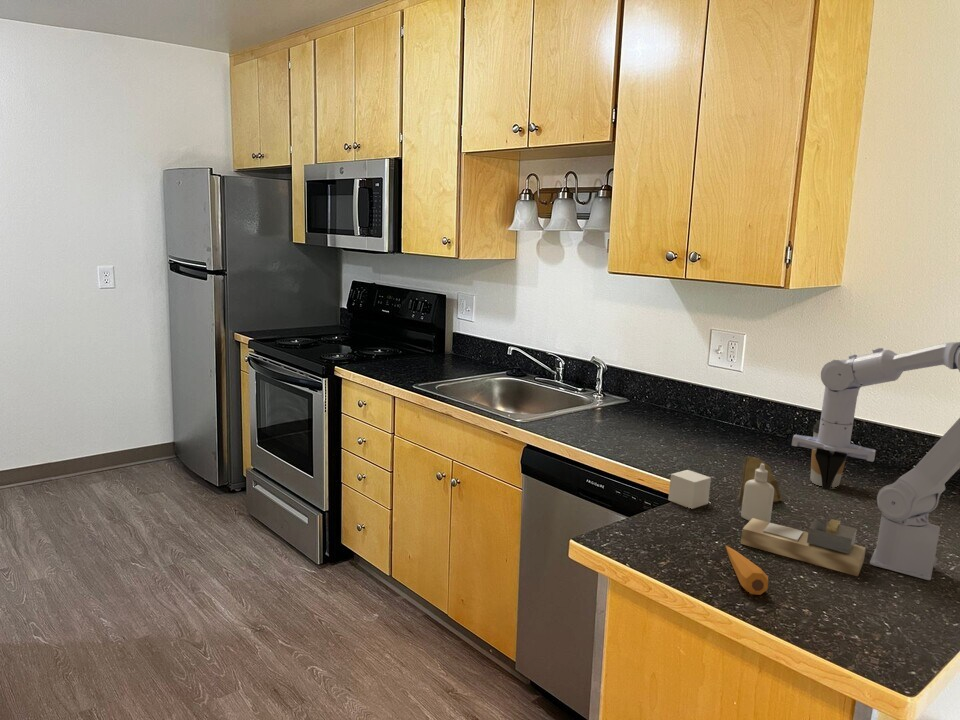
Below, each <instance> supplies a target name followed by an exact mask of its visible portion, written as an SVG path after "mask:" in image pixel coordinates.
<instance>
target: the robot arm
mask: <svg viewBox="0 0 960 720" xmlns="http://www.w3.org/2000/svg"><path fill="white" fill-rule="evenodd" d="M871 351H872V352H870V353H868V354H862V355H857V354H852V355H848V359H832V360H831V361H828V362H826V363H825V364H824V365H823V366H822V368H821V370H820V379H821V382H822V384H823V386H824V392H823V400H822V408H821V412H820V413H821V414H820V419H819V420H820V426H819V433H818V437H813V436H809V435H808V436H807V435H801V434H794V435H793V436H792V441H791V446H793V447H803V448H806V449H811V450H812V449H816V450H817V451H816V454H815V457H816V460H817V462H818V465H819V468H820V472H821V478H822V487H821V489H823V490H828V491H830V490H831V489H832V488H831V487H832V483H833V481H834V478H835V476H836V474H837V472H838V470H839V469H840V467H841V465H842V464H843V462H844V461H845V462H846V460H847V458H848V457H852V458H856V459H862V460H866V461H867V462H871V463H873V462H874V461H875V457H876V453H877V452H876V451H877V450H876V449H874V448H869V447H864V446H861V445H857V444H852V443H851V440H852V432H853V428H854V427H853V426H854V419H855V413H856V408H857V407H856V405H857V401H858V396H859V391H860V389H861V388H863V387H867V386H873V385H878V384H883V383H890V382H896V381H898V380H899V378H900V377H901V375H902V374H903V373H904V372H909V371H914V370H919V369H926V368H931V367H938V366H945V367H946V368H949V370H958V372H959V373H960V341H956V342H955V341H953V342H952V341H951V342H944V343H940V344H936V345H932V346H928V347H924V348H920V349H916V350H911V351H907V352H904V353H900V354H898V353H896V352H894V351H892V350H890V349H884V348H883V347H878V348H874V349H872V350H871ZM832 454H833V455H832ZM959 469H960V417H959V418H958V419H957V420H956V421H955V423H954V424H953V425H951V426H950V428H949V429H947V431H946V432H945V433H944V434H943V435H942V436H941V438H940V439H939V440H938V441H937V442H936V443H934V445H933V446H932V448H930V449H929V450H928V452H926V454H925V455H924V456H923V457H922V458H921V460H920V461H918V463H917V464H915V466H914V467H913V468H911V469H910V470H909V471H907V472H905V473H904V474H902V475H901V476H900V477H899V478H897V479H896V480H895V481H894V482H893V483H891V484H886V485H884V486H883V487H881V488H880V489H879V491H878V493H877V496H876V503H877V507H878V509H879V511H880V512H881V515H880V517H881V518H880V522H879V523H880V524H879V530H878V534H877V535H878V536H877V542H876V548H875V549H874V551H873V553H872V555H871V558H870V560H869V565H871V566H874V567H879V568H881V569H885V570H889V571H893V572H897V573H900V574H902V575H903V574H904V575H908V576H911V577H915V578H918V579H922V580H924V581H931V580H932V575H933V570H934V568H936V566H937V561H938V557H936V554H937V553H936V552H937V548H938V542H939V536H940V532H941V531H940V530H941V527H940V526H939V525H937V524H933V523H930V522H929V515H930V514H929V513H931V512H933V511H934V510H935V509H936V508H937V507H938V505H939V501H940V497H941V494H942V493H943V492H944V491H945V490H946V485H945V484H946V482H948V481H949V480H950V479H951V478H952V476H954V474H955V473H956V472H957V471H958V470H959Z"/></svg>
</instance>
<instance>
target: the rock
mask: <svg viewBox="0 0 960 720" xmlns="http://www.w3.org/2000/svg"><path fill="white" fill-rule="evenodd" d="M743 461H744V462H743V465H742V472H741V477H742V479H741V481H742V482H741V485H740V487H739V493H738V503H739V504H740V505H741V506H742V503H743V495H744V488H745V483H746V482H747V481H749V480H753V479H754V477H755V470H756V469H759V468H760V465H761V464H765V470H767V471H768V477H767V481H766V482H768V483H769V484H771V485H772V486H773V487H774V497H773V503H774V502H781V501H782V500H783V498H782V493H781V490H780V485H779V482H778V481H777V479H776V478H775V476H774V475H773V472H772V470H771V466H770V465H769V464H767V463H765V462H764V461H763V460H762V459H760V458H758V457H756V456H755V457H754V456H745V457H744V460H743Z"/></svg>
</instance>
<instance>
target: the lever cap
mask: <svg viewBox="0 0 960 720" xmlns="http://www.w3.org/2000/svg"><path fill="white" fill-rule="evenodd" d="M857 531H858V529H857V528H856V527H851V526H847V525H843V524H841V520H838V519H833V518H830V520H829V521H826V520H823V519H819V518H815V519H814V520H813V521H812V523H811V524H810V525H809V528H808V531H807V532H808V538H807V543H810V544H813V545H817V546H821V547H825V548H828V549H832V550H836V551H840V552H843V553H847V554H850V552H851V550H852V548H853V546H854V544H855V545H856V537H857Z"/></svg>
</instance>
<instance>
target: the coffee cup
mask: <svg viewBox="0 0 960 720" xmlns="http://www.w3.org/2000/svg"><path fill="white" fill-rule="evenodd" d="M819 426H820V419H818V420H816V422H815V424H814V425H813V429H812V431H813V434H812V435H813V436H812V437H818V433H819ZM816 451H817V450H816V449H811V458H810V476H809V479H810V482H811V481H812V483H814V484H816V485H819V486H822V478H821V472H820V468H819V465H818V462H817V460H816V457H815V454H816ZM832 455H833V454H832ZM845 464H846V460H845V461H844V462H843V464H842V465H841V467H840V469H839V470H838V472H837V474H836V476H835V478H834V481H833V483H832V487H837V486H838V487H839V486H840V483H841V479H842V476H843V473H844V472H843V471H844V468H845ZM812 483H811V484H812ZM814 484H813V485H814ZM816 485H815V486H816ZM819 486H818V487H819ZM838 487H837V488H838Z"/></svg>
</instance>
